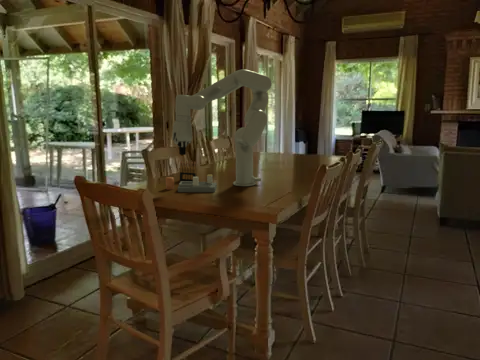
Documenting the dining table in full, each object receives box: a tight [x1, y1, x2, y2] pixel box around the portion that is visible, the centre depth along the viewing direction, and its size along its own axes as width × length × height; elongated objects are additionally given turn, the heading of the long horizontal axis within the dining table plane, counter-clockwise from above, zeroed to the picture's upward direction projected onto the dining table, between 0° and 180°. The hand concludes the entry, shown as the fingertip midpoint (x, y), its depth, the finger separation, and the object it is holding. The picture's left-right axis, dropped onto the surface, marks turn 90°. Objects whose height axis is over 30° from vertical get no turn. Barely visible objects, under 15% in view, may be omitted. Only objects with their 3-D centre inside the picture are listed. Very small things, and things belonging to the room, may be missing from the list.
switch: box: [193, 176, 199, 186], centre depth 208 cm, size 2×3×5 cm
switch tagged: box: [206, 174, 213, 184], centre depth 214 cm, size 2×3×5 cm
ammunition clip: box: [179, 160, 198, 182], centre depth 235 cm, size 11×2×12 cm, turn 70°
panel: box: [177, 181, 218, 193], centre depth 212 cm, size 19×12×4 cm, turn 89°
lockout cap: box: [165, 176, 175, 191], centre depth 214 cm, size 4×4×6 cm
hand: (182, 154), depth 211 cm, fingers closed
